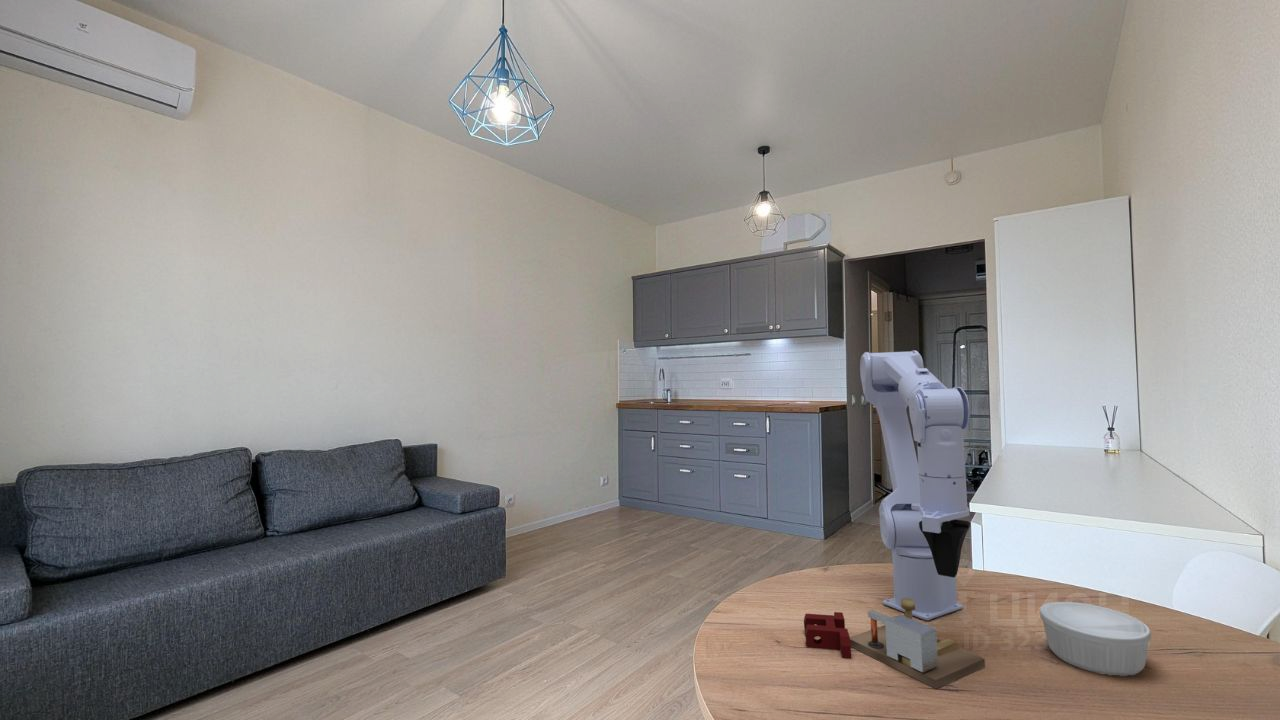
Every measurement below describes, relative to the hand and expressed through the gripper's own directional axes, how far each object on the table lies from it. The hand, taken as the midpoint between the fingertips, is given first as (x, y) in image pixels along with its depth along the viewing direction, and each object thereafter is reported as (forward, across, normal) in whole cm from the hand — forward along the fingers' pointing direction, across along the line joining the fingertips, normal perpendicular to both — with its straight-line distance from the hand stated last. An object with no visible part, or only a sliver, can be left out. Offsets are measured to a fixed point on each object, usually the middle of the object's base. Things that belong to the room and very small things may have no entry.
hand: (947, 574), depth 75 cm
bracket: (+10, +8, -14) cm, 19 cm away
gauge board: (+10, +5, -4) cm, 12 cm away
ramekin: (+10, -8, +15) cm, 20 cm away
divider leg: (+9, +9, -4) cm, 13 cm away
